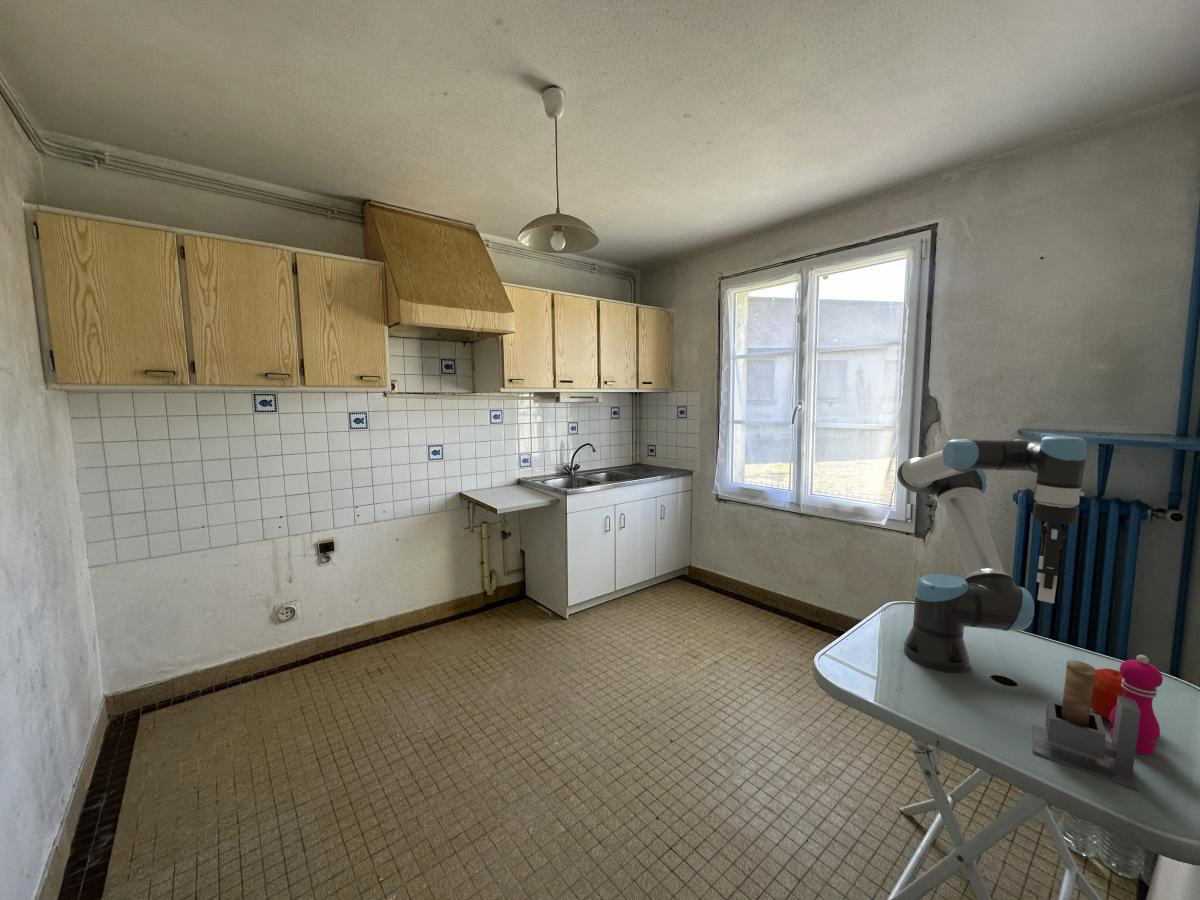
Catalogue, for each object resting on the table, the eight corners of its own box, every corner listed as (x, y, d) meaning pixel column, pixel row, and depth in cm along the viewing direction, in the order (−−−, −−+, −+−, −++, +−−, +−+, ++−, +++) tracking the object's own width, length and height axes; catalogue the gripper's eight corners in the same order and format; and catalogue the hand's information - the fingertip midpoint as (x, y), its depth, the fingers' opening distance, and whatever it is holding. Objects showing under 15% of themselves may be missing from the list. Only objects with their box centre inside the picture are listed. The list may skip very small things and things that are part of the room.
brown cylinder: (1060, 735, 99) (1067, 666, 97) (1058, 725, 102) (1066, 658, 100) (1088, 744, 96) (1096, 673, 94) (1085, 733, 99) (1093, 665, 98)
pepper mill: (1097, 733, 105) (1107, 647, 103) (1126, 731, 106) (1137, 645, 104) (1136, 757, 98) (1148, 665, 96) (1168, 755, 99) (1180, 664, 96)
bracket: (1033, 753, 99) (1040, 689, 98) (1031, 726, 107) (1037, 667, 106) (1136, 790, 90) (1146, 721, 88) (1126, 757, 98) (1134, 693, 96)
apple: (1072, 698, 117) (1077, 654, 116) (1129, 711, 113) (1135, 664, 112) (1090, 722, 109) (1096, 675, 107) (1153, 737, 104) (1160, 687, 103)
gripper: (1084, 517, 98) (1070, 615, 101) (1074, 496, 116) (1063, 579, 119) (1034, 511, 103) (1023, 604, 105) (1033, 492, 121) (1023, 572, 124)
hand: (1044, 591), depth 112 cm, fingers open, 13 cm apart
